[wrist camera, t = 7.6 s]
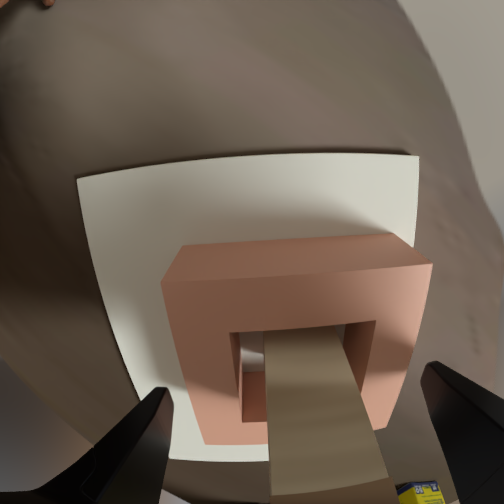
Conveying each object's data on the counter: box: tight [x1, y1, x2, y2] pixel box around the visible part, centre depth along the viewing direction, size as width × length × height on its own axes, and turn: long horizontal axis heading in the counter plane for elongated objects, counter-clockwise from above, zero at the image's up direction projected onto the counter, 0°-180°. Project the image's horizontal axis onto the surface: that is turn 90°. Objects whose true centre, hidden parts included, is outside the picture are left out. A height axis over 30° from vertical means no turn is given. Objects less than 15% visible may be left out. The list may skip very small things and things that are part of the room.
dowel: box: [263, 325, 400, 504], centre depth 8 cm, size 3×3×9 cm
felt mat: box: [77, 153, 419, 462], centre depth 13 cm, size 18×13×1 cm
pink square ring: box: [160, 233, 433, 445], centre depth 11 cm, size 8×8×3 cm
